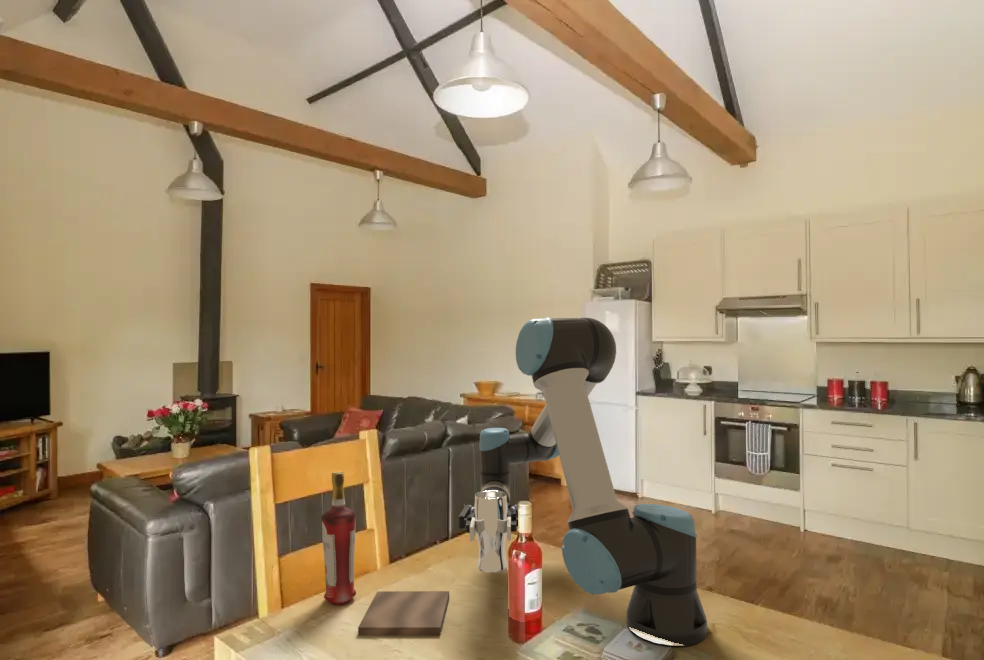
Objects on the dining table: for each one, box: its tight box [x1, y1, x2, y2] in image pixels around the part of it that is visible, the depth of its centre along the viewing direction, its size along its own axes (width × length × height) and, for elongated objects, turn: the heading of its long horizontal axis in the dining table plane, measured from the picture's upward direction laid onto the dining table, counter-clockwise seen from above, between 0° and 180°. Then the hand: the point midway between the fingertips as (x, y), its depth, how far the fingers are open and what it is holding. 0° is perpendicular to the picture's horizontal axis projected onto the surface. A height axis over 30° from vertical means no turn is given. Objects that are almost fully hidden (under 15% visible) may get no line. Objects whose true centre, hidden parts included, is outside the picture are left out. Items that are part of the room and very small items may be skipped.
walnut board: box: [357, 590, 450, 636], centre depth 122 cm, size 16×16×2 cm
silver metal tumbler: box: [473, 490, 508, 574], centre depth 122 cm, size 7×7×15 cm
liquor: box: [321, 471, 357, 606], centre depth 130 cm, size 7×7×28 cm
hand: (490, 533), depth 117 cm, fingers closed on silver metal tumbler, 7 cm apart
